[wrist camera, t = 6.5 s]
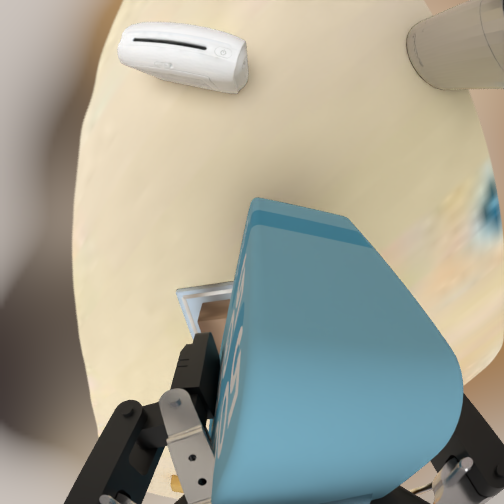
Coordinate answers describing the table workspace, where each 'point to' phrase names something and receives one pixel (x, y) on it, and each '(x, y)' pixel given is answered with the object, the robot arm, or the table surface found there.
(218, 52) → the photo printer
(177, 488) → the rubber stamp
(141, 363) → the table surface
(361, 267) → the data package
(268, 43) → the table surface
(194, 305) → the base
